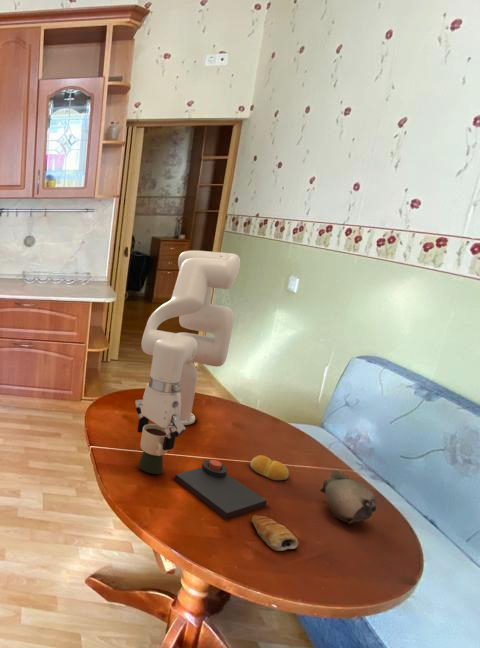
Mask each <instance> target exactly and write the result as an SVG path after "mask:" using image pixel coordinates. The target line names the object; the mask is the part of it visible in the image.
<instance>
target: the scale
mask: <svg viewBox="0 0 480 648" xmlns="http://www.w3.org/2000/svg"><path fill="white" fill-rule="evenodd" d="M210 460H211V459H207V460H203V462H202V465H201V467H199V468H194V469H191V470H187V471H183V472H179V473H175V476H174V481H175V482H177V483H178V484H179V485H180V486H182V487H183V488H184V489H185V490H187V491H188V492H190V493H191V494H192V495H193V496H195V497H196V498H197V499H199V500H200V501H201V502H202V503H204V504H205V505H207V507H210V509H212V511H214V512H216V514H218V515H220V516H221V517H222V518H223V519H225V520H228V519H231V518H234V517H237V516H240V515H244V514H247V513H249V512H253V511H256V510H258V509H261V508H265V507H266V505H267V502H268V500H267V499H266V498H264V497H262V496H261V495H259V494H258V493H257V492H255V491H254V490H252V489H250V488H249V487H248V486H246V485H245V484H243V483H242V482H240V481H238V480H237V479H236V478H234V477H232V476H231V475H229V474H228V468H227V467H226V465H224V464H223V463H221V464H222V466H221V470H214V469H211V468H210V467H209V461H210Z"/></svg>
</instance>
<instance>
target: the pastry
mask: <svg viewBox="0 0 480 648" xmlns="http://www.w3.org/2000/svg"><path fill="white" fill-rule="evenodd" d="M251 522H252V524H253V526H254V529H255V530H256V532H257V533H256V534H257V535H258V536H259V537H260V538H261V540H262V541H263V542H265V544H266V545H267V546H268V547H269V548H271V549H272V550H274V551H275V552H276V551H277V552H281V551H286V550H294V549H296V548H297V547H298V545H299V541H298V538H297V537H296V536H295V535H294V534H293V533H292V532H291V531H290V530H289V529H288V528H287V527H286V526H285V525H283V524H280V523H279V522H277V521H275V520H274V519H272V518H270V517H268V516H265V515H256V514H254V515H253V516H252V518H251Z"/></svg>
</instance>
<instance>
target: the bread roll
mask: <svg viewBox="0 0 480 648" xmlns="http://www.w3.org/2000/svg"><path fill="white" fill-rule="evenodd" d="M249 467H250V468H251V470H253V471H254V472H255V473H256V474H258V475H260V476H263V477H266V478H267V479H270V480H272V481H284V480H287V479H288V478H289V475H290V472H289V469H288V467H287V466H286V465H285V464H283V463H282V462H280V461H278V460H272V459H271V458H269V457H268V456H266V455H261V454H260V455H256V456H255V457H253V458H252V459H251V461H250V463H249Z"/></svg>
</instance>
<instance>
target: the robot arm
mask: <svg viewBox="0 0 480 648" xmlns="http://www.w3.org/2000/svg"><path fill="white" fill-rule="evenodd" d="M177 264H178V265H177V266H178V274H177V278H176V280H175V284H174V288H173V290H172V295H171V298H170V300H168V301H167V302H164V303H163V304H162V305H160V306H159V307H157V308H156V309H155V310H154V311H153V312H152V313H151V314H150V316H149V317H148V319H147V322H146V325H145V328H144V331H143V334H142V339H141V345H140V346H141V350H142V352H143V353H145V354H146V355H149V356H152V360H151V366H150V373H149V377H148V383H147V384H146V386H145V389H144V393H143V395H142V399H136V400H135V401H134V403H135V410H136V413H137V419H138V424H137V433H138V434H139V433H140V434H141V433H142V430H143V426H144V425H147V424H150V423H149V422H150V421H151V422H153V424H156V425H159V426H160V427H162V428H164V430H165V433H166V435H167V436H165V438H164V443H163V450H165V451H166V450H168V451H170V450H173V449H174V447H175V441H176V438H178V437H180V436H182V435H183V433H184V432H185V431H186V430H187V429H186V427H185V426H188V425H192V424H194V423H195V421H196V416H195V415H194V414H193V412H192V411H193V406H194V401H195V394H196V389H197V384H198V380H199V373H198V372H199V371H198V369H197V368H196V365H195V364H200V365H205V366H210V367H222V366H223V365H224V364H225V363H226V361H227V358H228V352H229V348H230V342H231V338H232V332H233V328H234V320H235V314H234V311H233V309H232V308H230V307H228V306H225V305H219V304H218V305H217V304H212V302H211V301H212V297H213V293H214V292H213V291H214V289H222V290H228V289H230V288H232V286H233V285H234V283H235V282H236V279H237V277H238V275H239V273H240V269H241V258H240V256H239V255H238V254H237V253H230V252H219V251H207V250H185V251H183V252H181V253H180V254H179V256H178V259H177ZM213 288H214V289H213ZM177 317H179V318H178V322H179V325H180V327H182V328H183V329H187V330H190V331H197V332H202V333H206V334H207V333H209V334H212V335H213V337H212V336H209V335H208V336H207V335H201V334H197V333H192V332H185V331H184V332H171V331H166V330H161V329H160V330H159V329H158V328H159V327H160V325H161V324H162V323H163V322H165V321H167V320H169V319H174V318H177Z"/></svg>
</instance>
